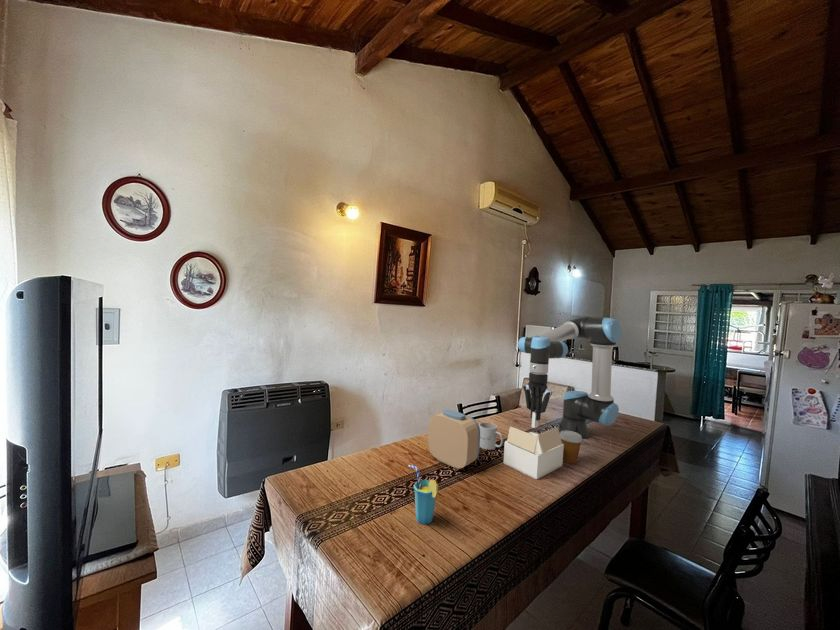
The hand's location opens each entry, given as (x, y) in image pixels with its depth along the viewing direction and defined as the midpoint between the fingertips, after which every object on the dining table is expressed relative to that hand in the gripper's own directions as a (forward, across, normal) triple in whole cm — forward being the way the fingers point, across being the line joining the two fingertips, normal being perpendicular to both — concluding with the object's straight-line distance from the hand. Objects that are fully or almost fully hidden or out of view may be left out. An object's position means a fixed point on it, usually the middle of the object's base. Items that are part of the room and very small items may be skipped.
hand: (534, 426), depth 143 cm
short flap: (+3, 0, -9) cm, 10 cm away
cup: (+18, 0, -62) cm, 64 cm away
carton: (+17, 0, 0) cm, 17 cm away
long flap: (+3, +7, 0) cm, 8 cm away
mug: (+17, -22, -2) cm, 28 cm away
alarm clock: (+17, -21, -28) cm, 39 cm away
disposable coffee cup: (+17, +7, +18) cm, 26 cm away
